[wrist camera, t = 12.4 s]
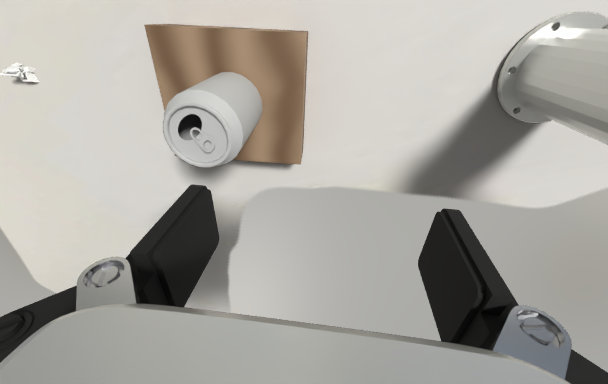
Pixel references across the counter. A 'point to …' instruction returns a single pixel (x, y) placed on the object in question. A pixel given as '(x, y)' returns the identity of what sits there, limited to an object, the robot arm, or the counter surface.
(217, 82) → the can
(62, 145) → the counter surface
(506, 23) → the counter surface
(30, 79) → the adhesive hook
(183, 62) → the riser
